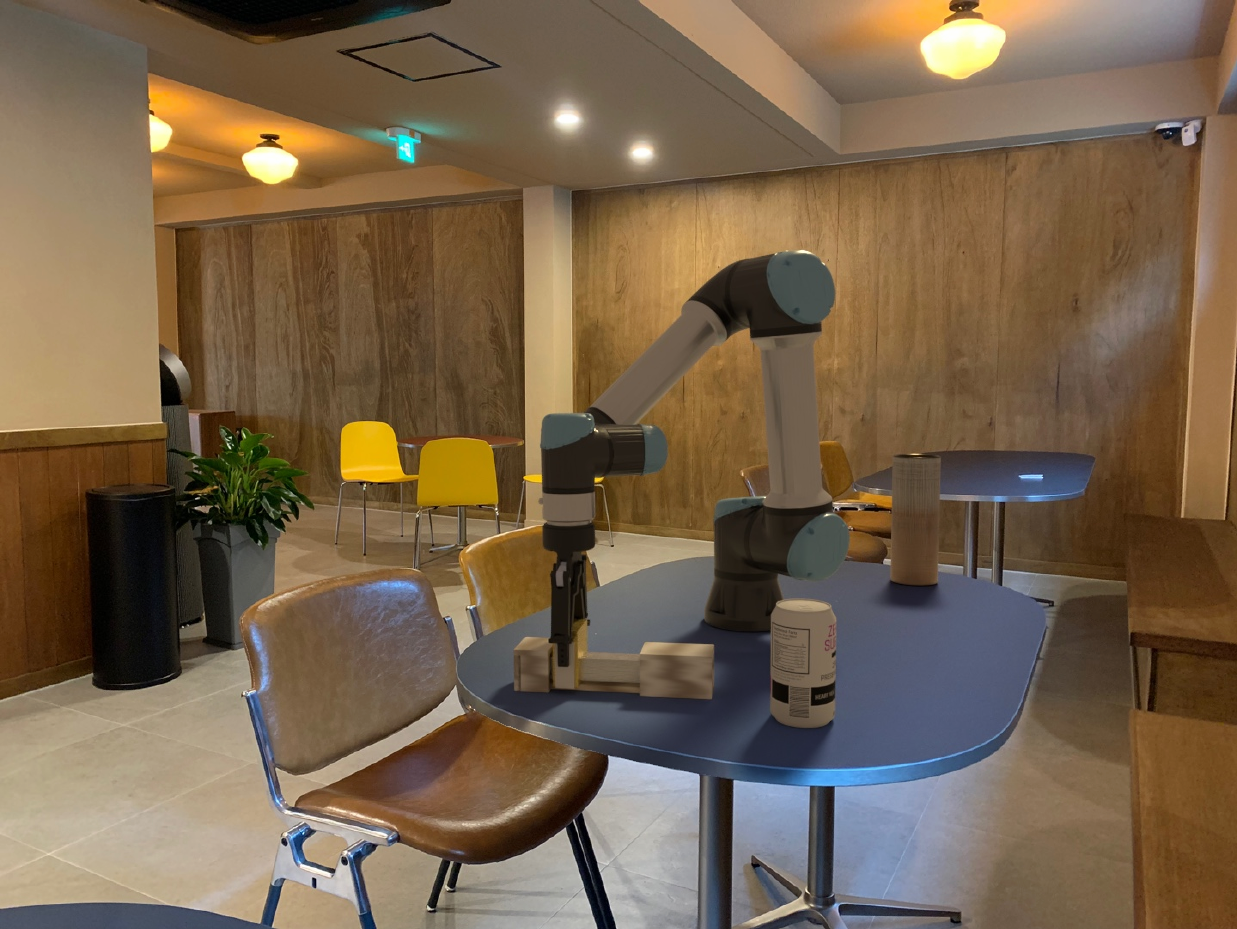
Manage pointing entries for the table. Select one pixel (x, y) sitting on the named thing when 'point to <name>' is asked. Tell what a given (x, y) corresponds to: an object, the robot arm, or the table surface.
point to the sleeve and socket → (660, 676)
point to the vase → (915, 519)
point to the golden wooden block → (598, 661)
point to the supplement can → (803, 663)
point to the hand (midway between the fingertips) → (570, 678)
